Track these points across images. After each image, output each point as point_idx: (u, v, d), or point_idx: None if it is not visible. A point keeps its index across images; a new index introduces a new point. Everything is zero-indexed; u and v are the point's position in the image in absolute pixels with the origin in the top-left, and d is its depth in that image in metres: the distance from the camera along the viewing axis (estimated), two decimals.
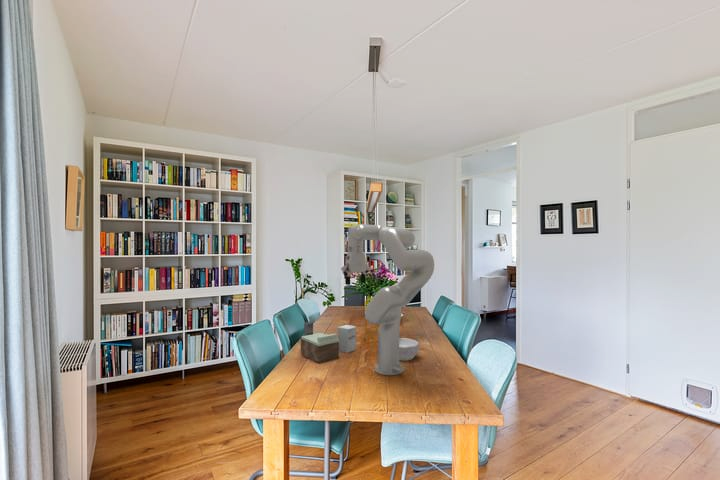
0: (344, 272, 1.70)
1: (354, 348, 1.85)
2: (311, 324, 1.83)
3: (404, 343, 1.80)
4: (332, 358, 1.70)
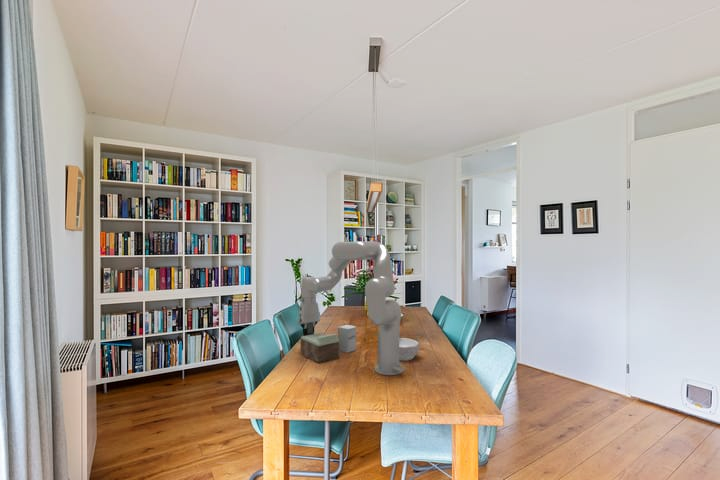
0: (301, 325, 1.80)
1: (354, 348, 1.85)
2: (311, 324, 1.83)
3: (404, 343, 1.80)
4: (332, 358, 1.70)
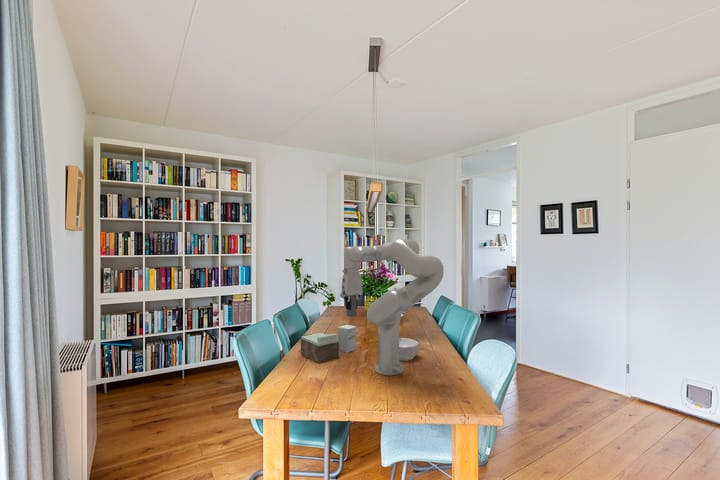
0: (344, 297, 1.68)
1: (354, 348, 1.85)
2: (354, 297, 1.71)
3: (404, 343, 1.80)
4: (332, 358, 1.70)
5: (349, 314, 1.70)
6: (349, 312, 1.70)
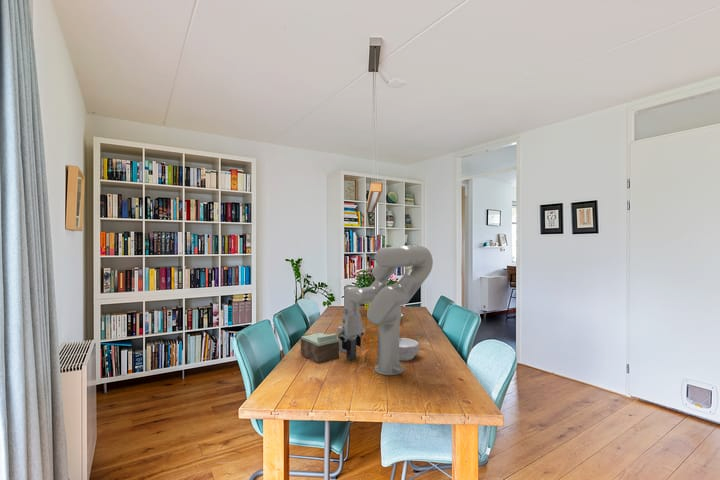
0: (341, 337, 1.67)
1: None
2: (354, 340, 1.71)
3: (404, 343, 1.80)
4: (332, 358, 1.70)
5: (349, 358, 1.70)
6: (348, 355, 1.70)
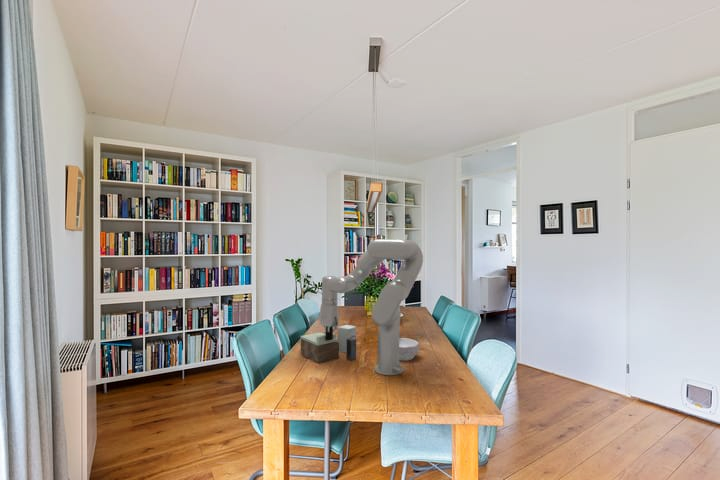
0: (324, 325, 1.71)
1: None
2: (354, 340, 1.71)
3: (404, 343, 1.80)
4: (332, 358, 1.70)
5: (349, 358, 1.70)
6: (349, 355, 1.70)
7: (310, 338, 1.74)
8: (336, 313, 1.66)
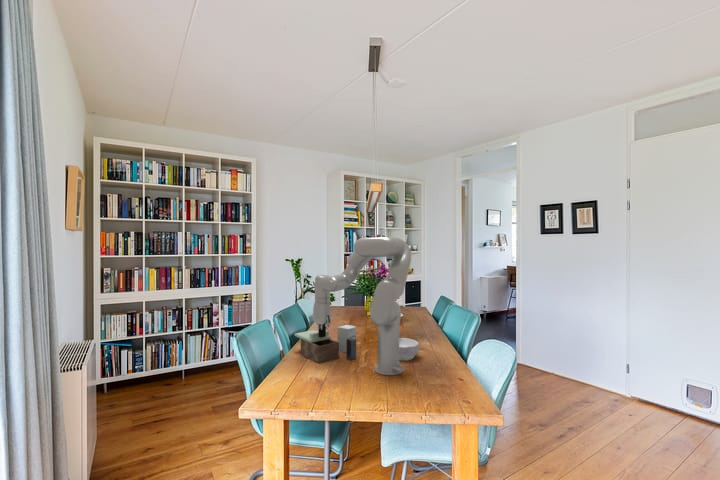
0: (317, 323, 1.76)
1: None
2: (354, 340, 1.71)
3: (404, 343, 1.80)
4: (332, 358, 1.70)
5: (349, 358, 1.70)
6: (349, 355, 1.70)
7: (304, 335, 1.79)
8: (329, 311, 1.70)
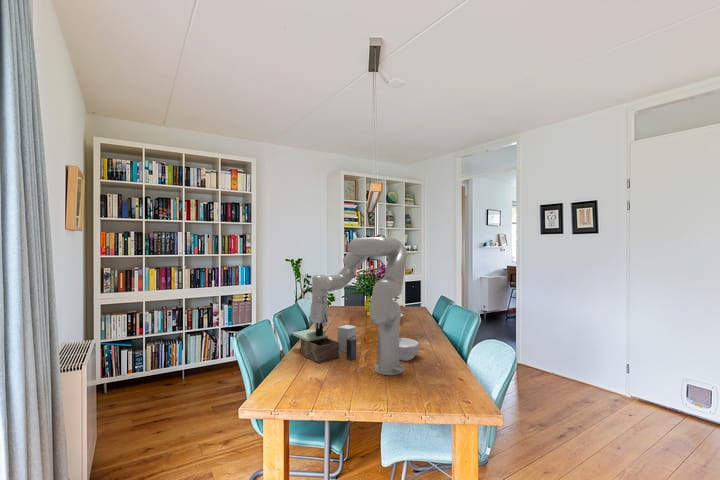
0: (314, 322, 1.78)
1: None
2: (354, 340, 1.71)
3: (404, 343, 1.80)
4: (332, 358, 1.70)
5: (349, 358, 1.70)
6: (349, 355, 1.70)
7: (301, 334, 1.81)
8: (326, 310, 1.72)
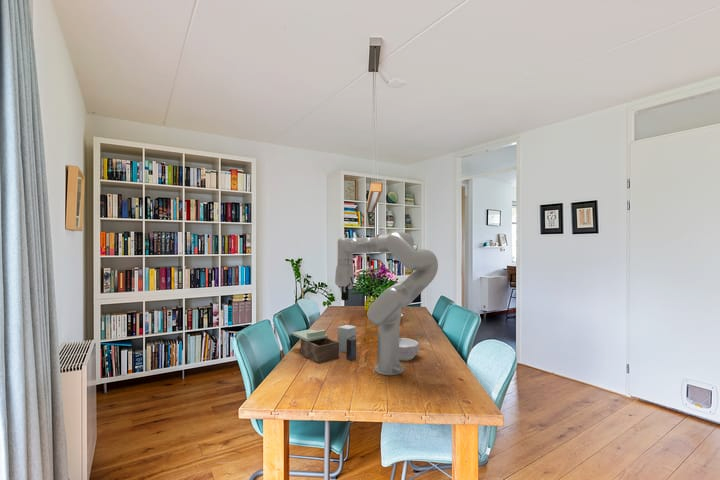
0: (339, 287, 1.75)
1: None
2: (354, 340, 1.71)
3: (404, 343, 1.80)
4: (332, 358, 1.70)
5: (349, 358, 1.70)
6: (349, 355, 1.70)
7: (301, 334, 1.81)
8: (352, 273, 1.69)
